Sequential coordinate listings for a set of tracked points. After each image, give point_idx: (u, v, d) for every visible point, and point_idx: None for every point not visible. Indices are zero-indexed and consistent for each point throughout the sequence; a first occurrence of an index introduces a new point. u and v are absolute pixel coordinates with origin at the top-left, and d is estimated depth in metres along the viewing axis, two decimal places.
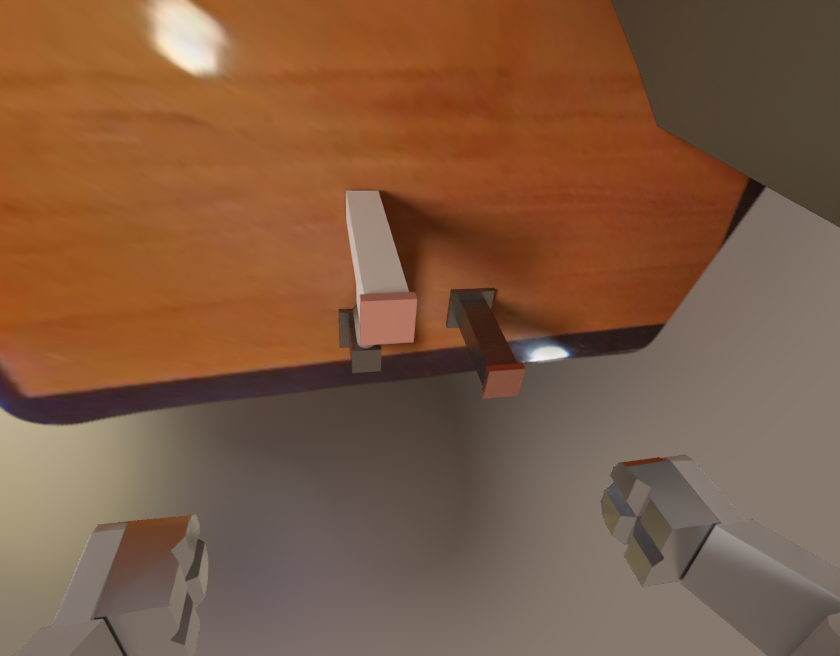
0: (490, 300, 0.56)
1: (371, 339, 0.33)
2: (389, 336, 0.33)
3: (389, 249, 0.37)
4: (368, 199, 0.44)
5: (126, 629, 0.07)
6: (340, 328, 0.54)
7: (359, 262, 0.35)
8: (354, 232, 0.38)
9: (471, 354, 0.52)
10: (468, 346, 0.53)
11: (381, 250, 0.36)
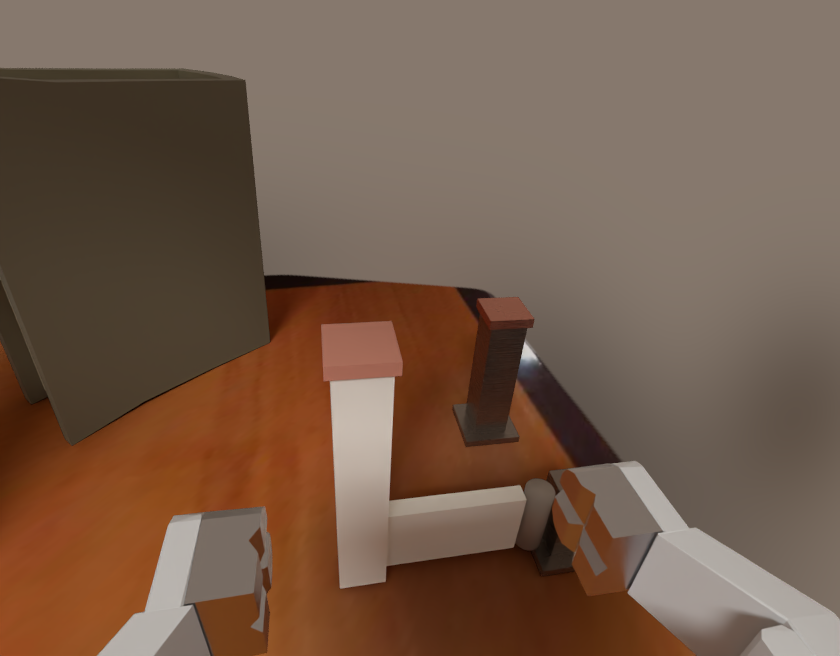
0: (466, 405, 0.48)
1: (390, 353, 0.23)
2: (383, 339, 0.24)
3: None
4: None
5: (212, 615, 0.07)
6: None
7: (333, 445, 0.25)
8: (336, 504, 0.27)
9: (512, 375, 0.42)
10: (509, 386, 0.42)
11: None
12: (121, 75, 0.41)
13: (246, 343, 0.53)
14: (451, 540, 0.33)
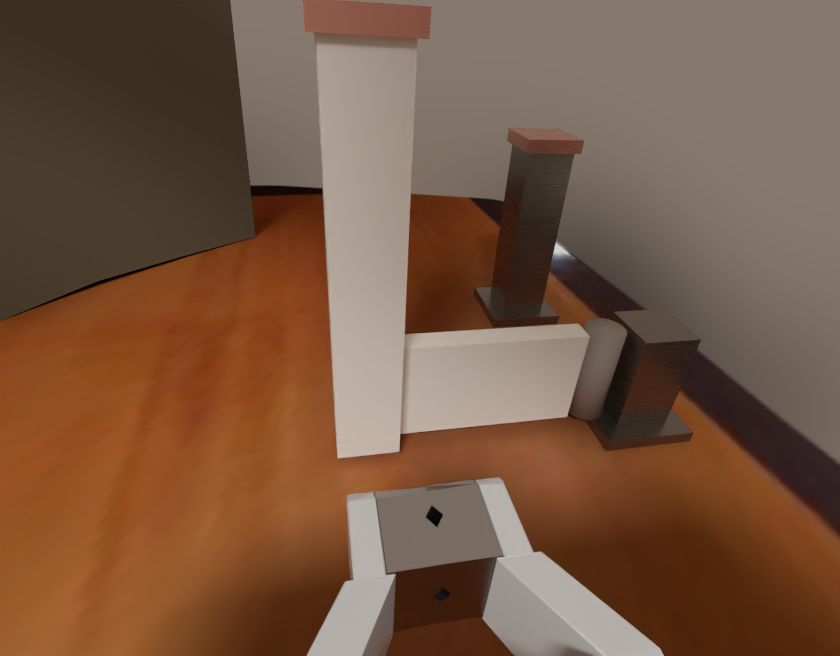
0: (490, 288, 0.39)
1: None
2: None
3: None
4: None
5: (405, 585, 0.08)
6: (646, 436, 0.26)
7: (323, 187, 0.17)
8: (329, 306, 0.19)
9: (553, 228, 0.33)
10: (548, 245, 0.34)
11: (324, 215, 0.19)
12: None
13: (226, 231, 0.45)
14: (487, 397, 0.24)
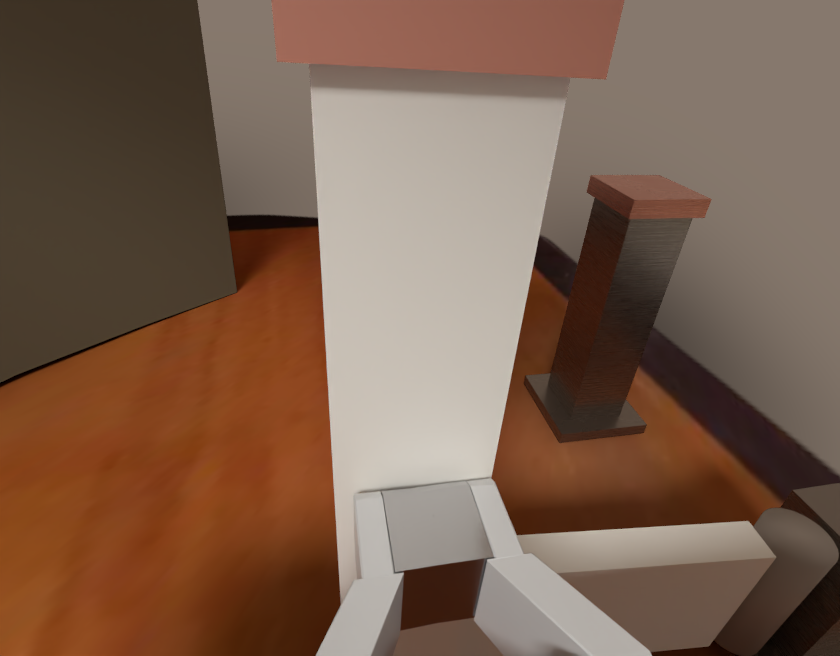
0: (546, 376, 0.30)
1: None
2: None
3: None
4: None
5: (413, 583, 0.08)
6: None
7: (328, 380, 0.08)
8: (338, 551, 0.10)
9: (650, 315, 0.23)
10: (641, 336, 0.24)
11: None
12: None
13: (198, 290, 0.35)
14: None
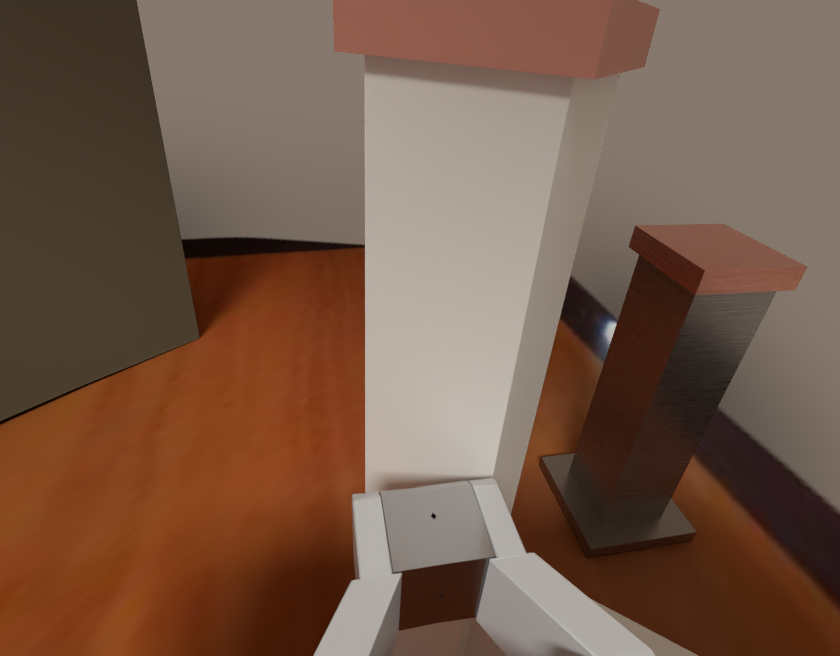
0: (567, 457, 0.24)
1: None
2: None
3: None
4: None
5: (411, 583, 0.08)
6: None
7: (368, 321, 0.09)
8: None
9: (709, 406, 0.18)
10: (695, 430, 0.19)
11: None
12: None
13: (150, 340, 0.29)
14: None
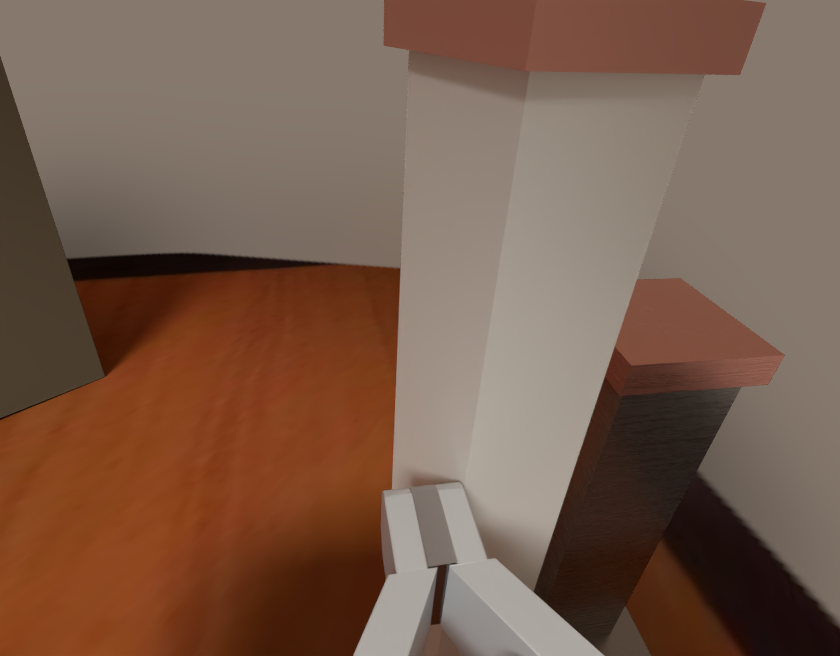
0: None
1: None
2: None
3: None
4: None
5: (446, 578, 0.08)
6: None
7: None
8: None
9: (660, 518, 0.14)
10: (644, 545, 0.14)
11: None
12: None
13: (37, 382, 0.25)
14: None
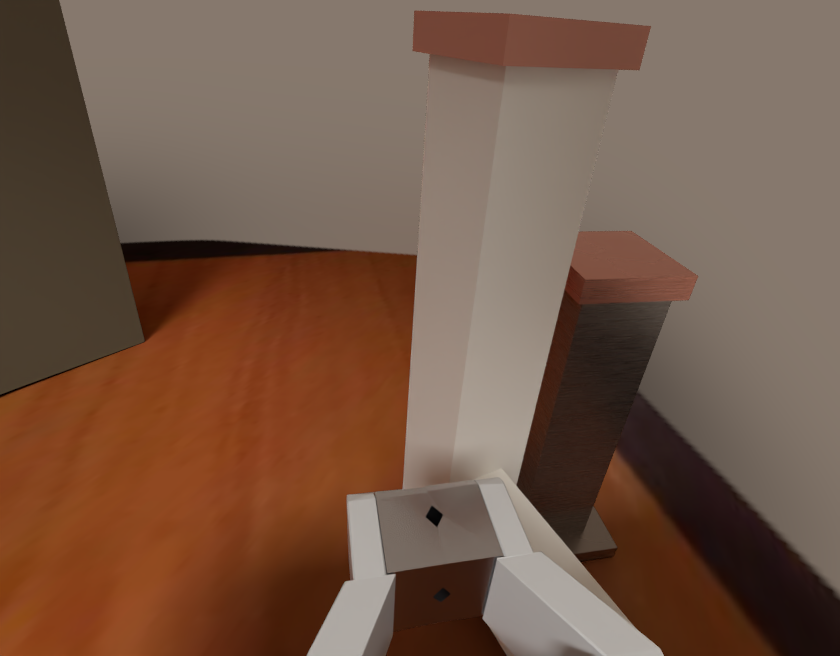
0: None
1: None
2: None
3: None
4: None
5: (406, 585, 0.08)
6: None
7: (421, 234, 0.14)
8: None
9: (617, 418, 0.17)
10: (606, 443, 0.18)
11: None
12: None
13: (89, 343, 0.29)
14: None
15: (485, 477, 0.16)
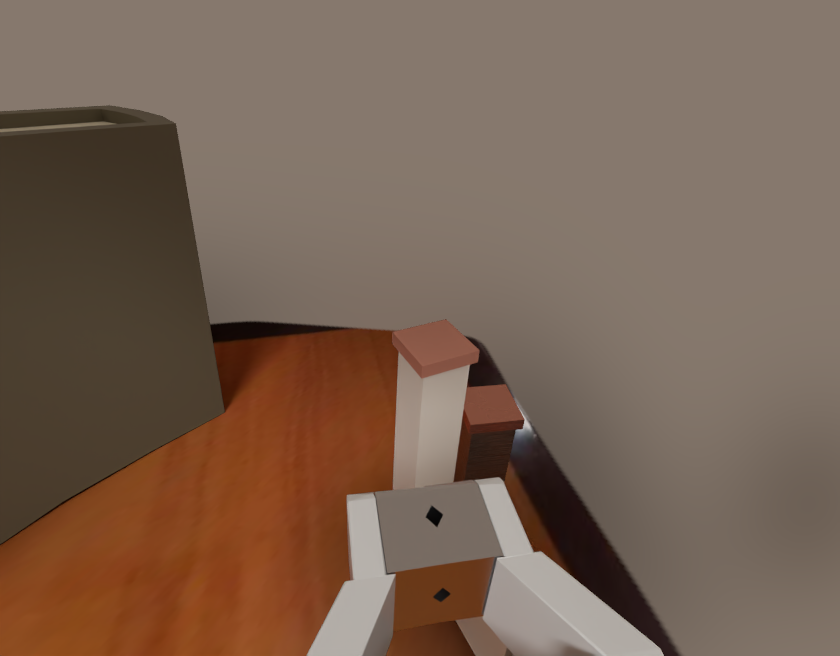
0: None
1: (429, 358, 0.26)
2: (447, 351, 0.27)
3: None
4: None
5: (406, 585, 0.08)
6: None
7: (397, 403, 0.31)
8: None
9: None
10: None
11: None
12: (24, 119, 0.34)
13: (194, 417, 0.46)
14: None
15: None
